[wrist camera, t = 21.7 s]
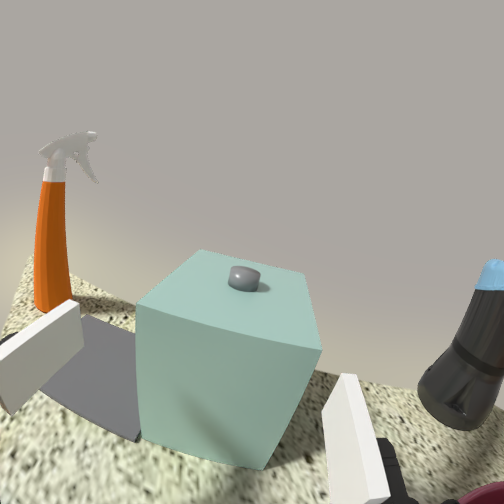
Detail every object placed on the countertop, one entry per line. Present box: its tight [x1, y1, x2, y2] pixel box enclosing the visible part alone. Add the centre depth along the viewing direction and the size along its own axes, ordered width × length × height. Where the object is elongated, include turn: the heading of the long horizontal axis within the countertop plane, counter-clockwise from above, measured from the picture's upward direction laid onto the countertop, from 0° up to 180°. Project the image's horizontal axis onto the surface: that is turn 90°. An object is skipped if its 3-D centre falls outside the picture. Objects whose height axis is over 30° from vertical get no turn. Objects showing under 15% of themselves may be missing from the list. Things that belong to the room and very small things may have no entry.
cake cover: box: [135, 249, 322, 471], centre depth 23 cm, size 11×14×16 cm
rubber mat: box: [39, 314, 141, 443], centre depth 26 cm, size 16×16×1 cm
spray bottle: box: [34, 131, 99, 313], centre depth 32 cm, size 7×11×26 cm, turn 139°
